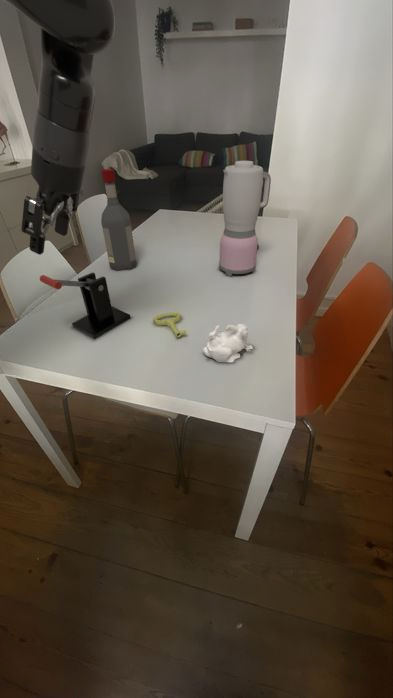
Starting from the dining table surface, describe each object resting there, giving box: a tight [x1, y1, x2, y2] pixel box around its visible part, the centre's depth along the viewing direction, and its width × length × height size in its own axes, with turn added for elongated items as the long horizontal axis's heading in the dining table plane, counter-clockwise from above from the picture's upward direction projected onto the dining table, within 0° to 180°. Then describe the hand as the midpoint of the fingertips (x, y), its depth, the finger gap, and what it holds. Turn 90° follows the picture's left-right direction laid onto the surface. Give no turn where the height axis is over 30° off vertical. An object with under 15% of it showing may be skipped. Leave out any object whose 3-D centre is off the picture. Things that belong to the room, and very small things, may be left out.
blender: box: [218, 160, 272, 277], centre depth 99 cm, size 16×12×32 cm
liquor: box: [100, 168, 138, 272], centre depth 104 cm, size 9×9×30 cm
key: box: [153, 311, 187, 338], centre depth 81 cm, size 7×12×2 cm, turn 39°
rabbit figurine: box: [202, 323, 254, 363], centre depth 68 cm, size 12×8×10 cm, turn 94°
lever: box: [39, 274, 97, 290], centre depth 73 cm, size 13×6×2 cm, turn 141°
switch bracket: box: [71, 271, 131, 340], centre depth 80 cm, size 12×9×13 cm
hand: (49, 242), depth 59 cm, fingers open, 8 cm apart
